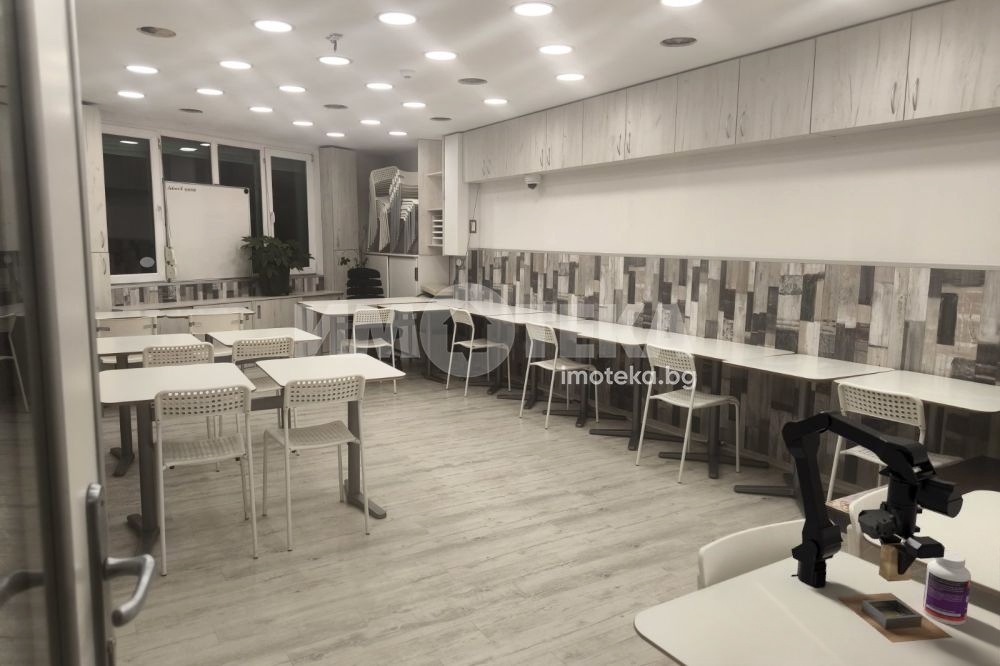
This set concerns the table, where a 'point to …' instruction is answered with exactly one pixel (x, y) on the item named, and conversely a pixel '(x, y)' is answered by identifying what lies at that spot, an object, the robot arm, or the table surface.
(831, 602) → the table surface
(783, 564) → the table surface
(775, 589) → the table surface
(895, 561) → the tan wooden brick
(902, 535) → the robot arm
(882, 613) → the tin
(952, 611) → the pill bottle
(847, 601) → the board
